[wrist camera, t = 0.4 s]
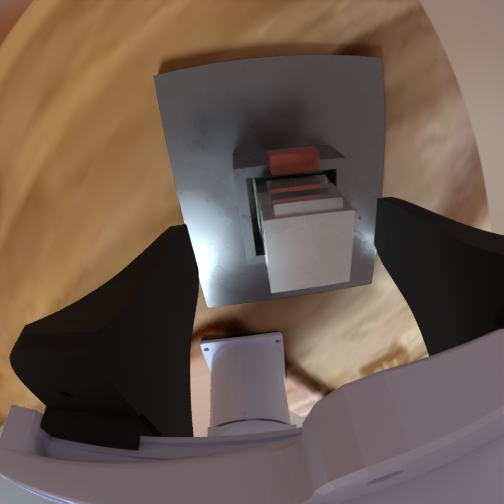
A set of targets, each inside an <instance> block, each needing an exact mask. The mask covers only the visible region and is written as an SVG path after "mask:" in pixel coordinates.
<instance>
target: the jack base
mask: <svg viewBox="0 0 504 504" xmlns="http://www.w3.org/2000/svg"><path fill="white" fill-rule="evenodd" d="M154 82H155V87H156V93H157V98H158V104H159V109H160V114H161V119H162V124H163V129H164V134H165V139H166V144H167V149H168V153H169V158H170V163H171V167H172V171H173V176H174V180H175V185H176V189H177V193H178V197H179V202H180V206H181V210H182V214H183V218H184V222H185V224H187V227H188V231H189V235H190V239H191V242H192V246H193V250H194V253H195V257H196V261H197V264H198V268H199V278H200V282H201V285H202V289H203V292H204V296H205V299H206V303H207V306H208V307H217V306H226V305H234V304H242V303H250V302H257V301H265V300H272V299H279V298H286V297H293V296H300V295H307V294H313V293H319V292H326V291H332V290H338V289H344V288H350V287H356V286H361V285H367V284H371V283H372V276H373V270H374V263H375V256H376V248H375V246H374V234H375V223H376V209H377V198H382V184H383V165H384V85H383V67H382V58H379V57H367V56H350V55H292V56H274V57H261V58H251V59H242V60H234V61H226V62H220V63H213V64H207V65H201V66H196V67H191V68H186V69H181V70H176V71H172V72H167V73H163V74H159V75H155V76H154ZM320 170H323V173H324V174H325V175H326V176H327V177H328V178H329V180H330V181H331V182H332V183H333V184H334V185H335V187H336V188H337V189H338V190H339V191H340V193H341V194H342V195H343V196H344V197H345V199H346V200H347V201H348V202H349V204H350V205H351V206H352V207H353V209H354V210H355V212H354V231H353V245H352V258H351V269H350V279H349V282H343V283H337V284H330V285H324V286H318V287H311V288H304V289H298V290H291V291H284V292H277V293H271V288H270V282H269V277H268V271H267V265H266V260H265V254H264V248H263V243H262V238H260V235H259V228H258V220H257V212H256V204H255V196H254V188H253V180H252V178H254V177H262V176H270V175H272V176H274V175H282V174H291V173H301V172H311V171H320Z"/></svg>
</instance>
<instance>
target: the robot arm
mask: <svg viewBox="0 0 504 504" xmlns="http://www.w3.org/2000/svg"><path fill="white" fill-rule="evenodd" d="M374 246H375V248H376V250H377V253H378V255H379V257H380V259H381V261H382V263H383V265H384V267H385V268H386V270H387V271H388V273H389V274H390V276H391V278H392V279H393V281H394V282H395V284H396V286H397V287H398V289H399V290H400V292H401V293H402V295H403V297H404V298H405V300H406V302H407V303H408V305H409V307H410V309H411V311H412V313H413V315H414V317H415V319H416V322H417V324H418V327H419V329H420V331H421V334H422V337H423V339H424V342H425V345H426V348H427V351H428V354H429V357H426V358H423V359H420V360H417V361H413V362H410V363H407V364H404V365H400V366H397V367H393V368H390V369H386V370H383V371H379V372H376V373H374V374H371V375H369V376H366V377H363V378H361V379H358V380H355V381H353V382H350V383H347V384H344V385H343V386H341V387H340V388H338V389H337V390H335V391H334V392H332V393H330V394H329V395H327V396H326V397H324V398H323V399H321V400H319V401H318V402H317V403H316V404H315V405H314V406H313V408H312V409H311V411H310V413H309V414H308V416H307V417H306V419H305V420H304V422H303V425H302V427H300V428H297V426H296V425H295V424H294V425H291V422H290V416H289V409H288V403H287V397H286V390H285V383H286V377H285V362H284V347H283V335H282V333H280V332H274V333H267V334H259V335H251V336H243V337H234V338H225V339H215V340H204V341H202V342H201V343H200V347H201V350H202V352H203V355H204V357H205V360H206V362H207V365H208V367H209V370H210V372H211V390H210V427H208V437H194V436H193V426H192V412H191V396H190V395H191V391H190V349H191V338H192V332H193V325H194V318H195V312H196V305H197V299H198V292H199V268H198V264H197V261H196V257H195V253H194V250H193V246H192V242H191V239H190V235H189V231H188V227H187V224H183V225H177V226H171V227H169V228H168V229H167V230H166V231H164V232H163V233H162V234H161V235H160V236H159V237H158V238H157V239H156V240H155V241H154V242H153V243H152V244H151V245H150V246H149V247H148V248H146V249H145V250H144V251H143V252H142V253H141V254H140V255H139V256H138V257H137V258H136V259H134V260H133V261H132V262H131V263H130V264H129V265H128V266H127V267H125V268H124V269H123V270H122V271H121V272H119V273H118V274H117V275H116V276H114V277H113V278H112V279H110V280H109V281H108V282H106V283H105V284H103V285H102V286H100V287H99V288H97V289H96V290H94V291H93V292H91V293H89V294H88V295H86V296H85V297H83V298H82V299H80V300H78V301H76V302H75V303H73V304H71V305H69V306H67V307H65V308H63V309H61V310H59V311H57V312H55V313H53V314H51V315H49V316H47V317H44V318H42V319H40V320H37V321H35V322H33V323H30V324H27V325H26V326H25V327H24V328H23V330H22V332H21V334H20V336H19V338H18V340H17V341H16V343H15V345H14V347H13V349H12V351H11V354H10V357H9V358H10V363H11V366H12V368H13V370H14V372H15V374H16V375H17V376H18V378H19V379H20V380H21V381H22V382H23V384H24V385H25V386H26V387H27V388H28V389H29V390H30V391H31V392H32V393H33V394H34V395H35V396H36V397H37V398H38V399H39V400H40V401H42V402H43V403H44V404H45V405H46V409H45V412H44V415H43V414H42V413H40V412H38V411H36V410H33V409H29V408H24V407H20V406H16V405H12V406H11V408H10V411H9V414H8V417H7V420H6V423H5V426H4V429H3V432H2V435H1V438H0V475H1V476H2V477H4V478H5V479H7V480H9V481H11V482H13V483H14V484H16V485H18V486H20V487H22V488H24V489H26V490H28V491H30V492H32V493H34V494H36V495H38V496H40V497H42V498H45V499H47V500H50V501H52V502H55V503H58V504H504V235H499V234H495V233H491V232H487V231H484V230H480V229H477V228H474V227H471V226H468V225H465V224H462V223H459V222H456V221H454V220H451V219H449V218H446V217H444V216H441V215H439V214H436V213H434V212H431V211H429V210H427V209H424V208H422V207H419V206H417V205H415V204H412V203H409V202H407V201H404V200H401V199H398V198H394V197H385V198H377V209H376V223H375V234H374Z"/></svg>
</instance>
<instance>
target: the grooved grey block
mask: <svg viewBox="0 0 504 504" xmlns="http://www.w3.org/2000/svg"><path fill="white" fill-rule="evenodd" d="M252 180H253V188H254V196H255V204H256V212H257V220H258V228H259V235H260V238H262V243H263V248H264V254H265V260H266V265H267V271H268V277H269V282H270V288H271V293H277V292H284V291H291V290H298V289H304V288H311V287H318V286H324V285H330V284H337V283H343V282H349V279H350V269H351V258H352V245H353V231H354V212H355V210H354V209H353V207H352V206H351V205H350V204H349V202H348V201H347V200H346V199H345V197H344V196H343V195H342V194H341V193H340V191H339V190H338V189H337V188H336V187H335V185H334V184H333V183H332V182H331V181H330V180H329V178H328V177H327V176H326V175H325V174H324V173H323V170H320V171H311V172H301V173H291V174H282V175H274V176H272V175H270V176H262V177H254V178H252Z"/></svg>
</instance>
